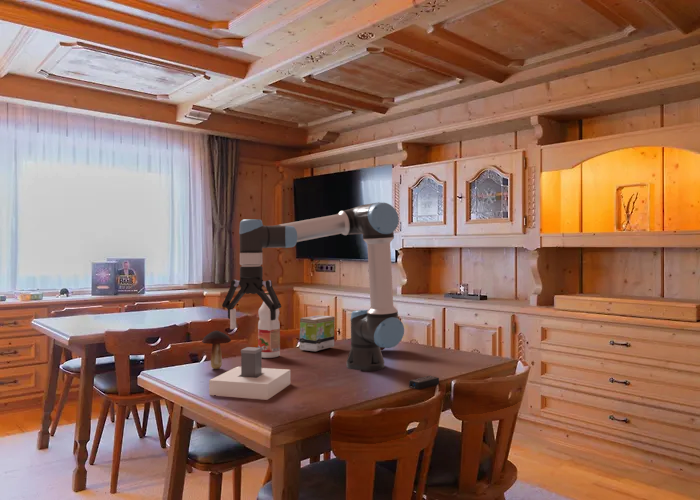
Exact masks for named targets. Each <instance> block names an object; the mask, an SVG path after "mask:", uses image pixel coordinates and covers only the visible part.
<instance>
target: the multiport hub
mask: <svg viewBox="0 0 700 500" xmlns="http://www.w3.org/2000/svg"><path fill="white" fill-rule="evenodd" d="M408 384H409V385H408V387H409V388H411V389H415V390H422V389H426V388H427V389H428V388H430V387H434V386H438V384H440V378H439V377H437V376H434V375H427V376H422V377H418V378H414V379H410V380H408Z"/></svg>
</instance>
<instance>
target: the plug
mask: <svg viewBox="0 0 700 500" xmlns="http://www.w3.org/2000/svg"><path fill="white" fill-rule="evenodd" d="M240 354H241V355H240V357H241V359H240V361H241V363H240V367H241V377H251V378H257V377H259V376H261V375H262V368H263V367H262V366H263V365H262V363H263V362H262V361H263V360H262V358H263V357H262V348H258V346H257V347H254V346H246V347H244V348H242V349H240Z"/></svg>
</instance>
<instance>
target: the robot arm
mask: <svg viewBox="0 0 700 500" xmlns="http://www.w3.org/2000/svg"><path fill="white" fill-rule="evenodd" d="M399 218H400V217H399V214H398V212H397V209H396V208H395V207H394V206H392V205H391V204H389V203H387V202H380V201H379V202H378V201H377V202H373V203H372V202H371V203H366V204H361V205H358V206H355V207H353V208H350V209H349V208H348V209H345V210H340V211H339V212H338V213H336V214H332V215H326V216H321V217H320V216H319V217H315V218H310V219H309V218H308V219H304V220H303V219H302V220H299V221H292V222H287V223H286V222H285V223H281V224H276V225H275V224H274V225H265V224H263V221H262V219H255V218H254V219H249V218H247V219H242V220H241V221H240V222H239V232H238V234H239V236H238V237H239V265H240V267H239V280H238V279H232V280H231V281H230V287H229V290H228V291H227V294H226V296H225V298H224V301H223V303H222V304H221V305H222V308H226V309H227V318H228V320H229V321H230V322H229V325H230V326H229V329H230V330H234V329H236V328H237V312H236V311H237V310H236V309H237V308H235V307H236V305H237V304H238V303H239V301H240V300H241V299H242V298H243V296H244V295H245V294H250V295H251V294H252V295H256V294H257V296H259V297H260V299H261V300H262V302H263V301H264V302H265V304H266V305H267V306H268V308H269V309H270V310H269V311H268V331H271V330H273V320H275V319H276V309H278V308H279V309H281V308H282V305H281V302H280V300H279V298H278V296H277V294H276V292H275V289H274V287H273V281H272V280H271V279H269V280H263V279H264V278H263V275H264V274H263V273H264V272H263V271H264V270H263V269H264V267H263V266H262V265H263V249H267V248H271V249H273V248H275V249H277V248H278V249H280V248H281V249H283V248H285V249H287V248H289V249H290V248H294V247H295V246H296V245H297V243H299V242H303V241H309V240H314V239H319V238H324V237H329V236H336V235H340V234H341V235H343V236H347V235H362V239H363V240H362V241H364V242H365V243H366V245H367V246H366V247H367V263H368V281H369V282H368V283H369V298H370V299H369V301H370V303H369V304H370V307H369V308H368V309H359V310H358V309H357V310H353V311H351V313H350V350H349V352H348V357H347V359H346V369H349V370H356V371H361V372H375V371H379V370H380V371H381V370H383V369H384V368H385V359H384V356H383V354H382V350H380V347H382V348H385V349H392V348H394V347H396V346H398V345H399V344H400V342H401V341H402V340H403V338H404V336H405V326H404V324H403V322H402V321H401V320H400V318H399V313H398V308H396V307H395V306H394V295H393V275H392V256H391V255H392V254H391V253H392V252H391V251H392V250H391V242H392V241H394V238H395V235H394V233H395V231H396V229H397V228H398V226H399V221H400V219H399ZM239 286H240V289H239V290H238V292H237V293H236V295H235V292H236V291H237V289H238V287H239ZM263 286H264V287H265V288H266V291H265V290H264V289H263ZM267 291H268V293H269V295H270V298H271V300H272V301H271V300H270V299H269V297H268V296H267V295H266V294H265V292H267ZM234 295H235V296H234ZM232 298H233V299H232ZM272 302H273V303H272ZM398 318H399V319H398Z"/></svg>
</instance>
